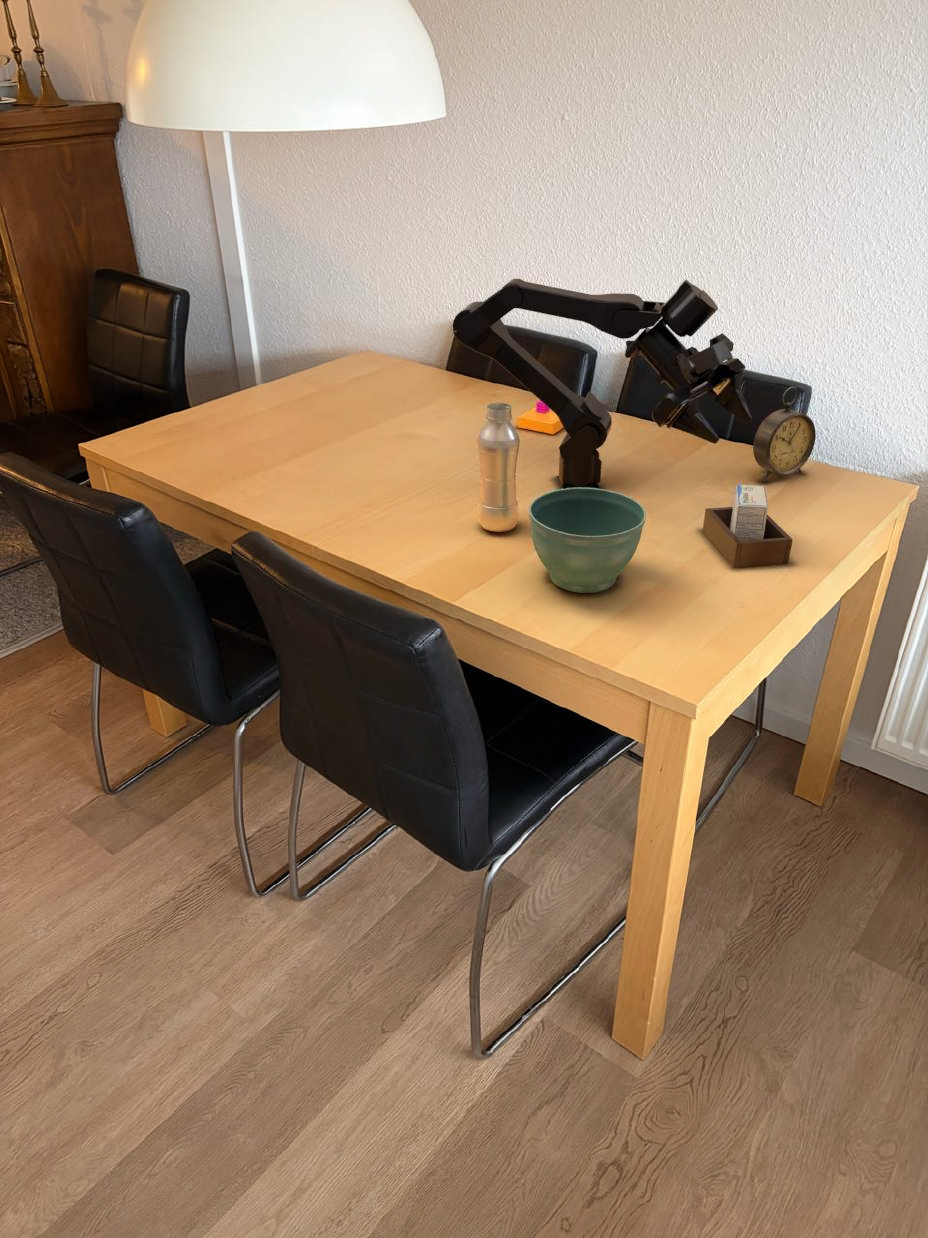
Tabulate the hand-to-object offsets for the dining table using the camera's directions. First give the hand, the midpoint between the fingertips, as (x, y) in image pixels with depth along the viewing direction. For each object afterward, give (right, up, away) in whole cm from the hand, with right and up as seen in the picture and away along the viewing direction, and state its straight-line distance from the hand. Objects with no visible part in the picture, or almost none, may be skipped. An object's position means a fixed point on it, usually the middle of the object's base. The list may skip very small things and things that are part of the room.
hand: (734, 431), depth 153 cm
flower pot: (-25, -24, -11) cm, 36 cm away
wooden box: (+1, -18, -3) cm, 19 cm away
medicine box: (+1, -18, -3) cm, 19 cm away
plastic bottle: (-37, -15, +4) cm, 40 cm away
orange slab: (-26, +13, +45) cm, 53 cm away
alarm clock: (+14, -4, +21) cm, 26 cm away
